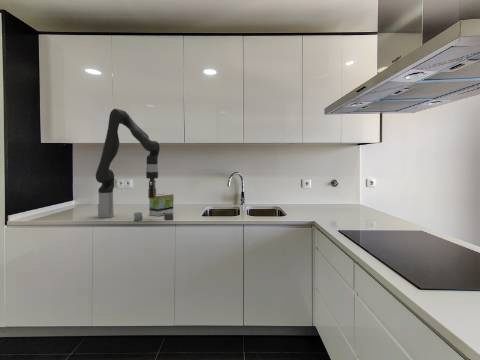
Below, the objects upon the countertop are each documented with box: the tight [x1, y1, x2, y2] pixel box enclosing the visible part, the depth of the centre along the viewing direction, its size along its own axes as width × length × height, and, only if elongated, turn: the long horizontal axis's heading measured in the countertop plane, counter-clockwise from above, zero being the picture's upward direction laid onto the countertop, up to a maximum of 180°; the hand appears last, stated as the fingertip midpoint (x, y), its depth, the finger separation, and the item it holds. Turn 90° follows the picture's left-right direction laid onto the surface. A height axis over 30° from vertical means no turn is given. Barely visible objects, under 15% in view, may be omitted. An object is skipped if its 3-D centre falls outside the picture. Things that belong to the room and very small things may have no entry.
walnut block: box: [147, 187, 157, 199], centre depth 200 cm, size 4×4×6 cm
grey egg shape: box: [133, 211, 143, 222], centre depth 200 cm, size 5×5×5 cm
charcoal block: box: [163, 213, 174, 221], centre depth 203 cm, size 5×5×4 cm
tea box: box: [148, 192, 174, 217], centre depth 221 cm, size 15×10×15 cm, turn 149°
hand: (152, 196), depth 200 cm, fingers closed on walnut block, 4 cm apart
